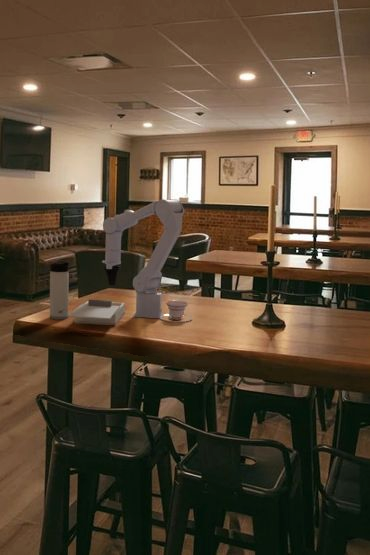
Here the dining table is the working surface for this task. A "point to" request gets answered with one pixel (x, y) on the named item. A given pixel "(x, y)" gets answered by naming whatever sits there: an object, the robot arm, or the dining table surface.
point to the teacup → (176, 310)
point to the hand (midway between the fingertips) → (112, 285)
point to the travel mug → (59, 290)
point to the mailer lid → (95, 310)
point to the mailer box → (112, 321)
